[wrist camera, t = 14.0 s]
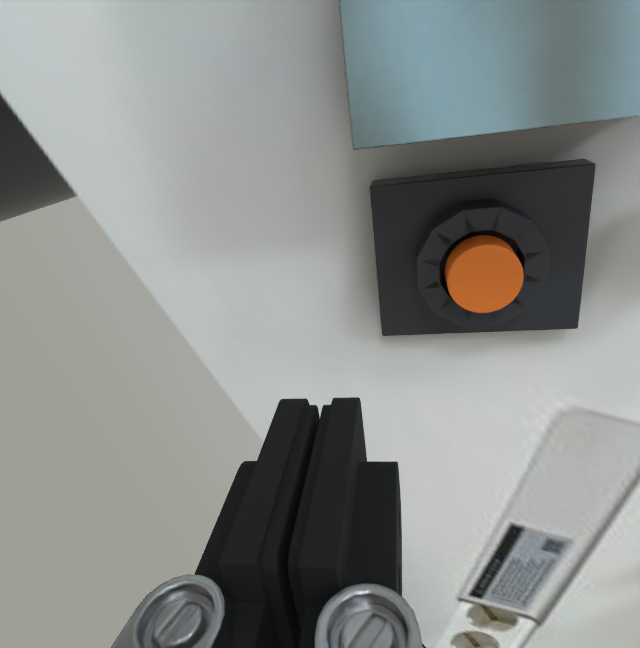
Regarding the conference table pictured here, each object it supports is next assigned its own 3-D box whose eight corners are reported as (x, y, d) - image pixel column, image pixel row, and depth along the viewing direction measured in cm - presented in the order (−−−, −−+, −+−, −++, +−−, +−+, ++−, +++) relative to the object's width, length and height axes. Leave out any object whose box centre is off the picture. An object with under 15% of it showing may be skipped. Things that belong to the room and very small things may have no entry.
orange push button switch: (383, 324, 31) (380, 350, 28) (372, 180, 27) (367, 192, 24) (569, 316, 29) (588, 344, 26) (585, 158, 25) (609, 168, 22)
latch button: (445, 301, 26) (447, 315, 25) (444, 237, 25) (446, 247, 23) (515, 298, 26) (522, 311, 24) (518, 231, 24) (526, 241, 22)
